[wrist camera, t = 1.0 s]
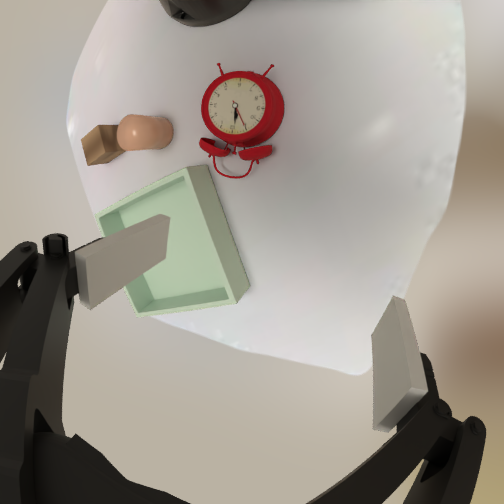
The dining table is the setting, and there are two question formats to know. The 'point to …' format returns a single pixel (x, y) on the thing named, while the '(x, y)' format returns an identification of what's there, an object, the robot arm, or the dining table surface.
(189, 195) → the tray
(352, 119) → the dining table surface
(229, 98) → the alarm clock
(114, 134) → the walnut cube
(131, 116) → the terracotta canister
